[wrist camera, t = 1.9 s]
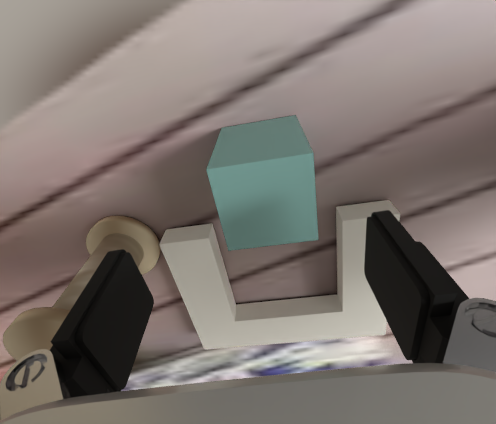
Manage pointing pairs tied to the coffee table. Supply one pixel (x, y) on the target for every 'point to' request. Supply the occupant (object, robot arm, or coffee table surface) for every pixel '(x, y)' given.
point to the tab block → (264, 184)
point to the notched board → (280, 311)
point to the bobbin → (82, 281)
